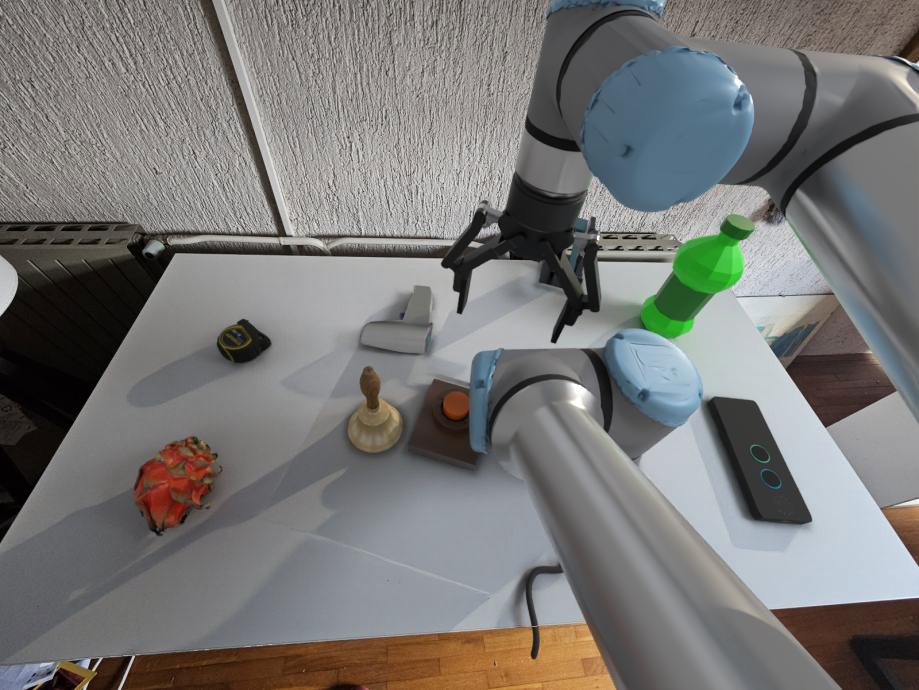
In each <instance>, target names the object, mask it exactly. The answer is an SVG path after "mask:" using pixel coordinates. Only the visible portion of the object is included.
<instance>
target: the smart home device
mask: <svg viewBox="0 0 919 690" xmlns="http://www.w3.org/2000/svg"><path fill="white" fill-rule="evenodd" d="M707 404H708V408H709V410H710V412H711V416H712V418H713V420H714V423H715V425H716V428H717V430H718V433H719V436H720V439H721V440H722V443H723V446H724V448H725V451H726V454H727V456H728V459H729V461H730V463H731V466H732V469H733V472H734V473H735V477H736V479H737V481H738V484H739V486H740V489H741V491H742V494H743V498H744V499H745V501H746V504H747V507H748V509H749V512H750V514H751V516H752V518H753V519H754V520H756V521H760V522H769V523H779V524H780V523H781V524H792V525H806V524H808V523H813V517H812V514H811V512H810V510H809V508H808V505H807V503H806V502H805V499H804V497H803V495H802V493H801V491H800V489H799V486H798V485H797V483H796V480H795V479H794V476H793V474H792V472H791V470H790V468H789V466H788V464H787V462H786V460H785V458H784V456H783V454H782V452H781V450H780V448H779V446H778V443H777V441H776V440H775V437H774V434H773V433H772V431H771V429H770V428H769V425H768V423H767V420H766V419H765V417H764V415H763V413H762V410H761V408H760V406H759V405H758V403H757V402H756V401H755V400H754V399H746V398H745V399H744V398H735V397H726V396H716V395H715V396H713V397H712V398H710V399H709V400H708V401H707Z"/></svg>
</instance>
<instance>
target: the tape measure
mask: <svg viewBox="0 0 919 690" xmlns="http://www.w3.org/2000/svg"><path fill="white" fill-rule="evenodd" d="M271 346H272V340H271V338H270V337H269V336H268V335H266V334H265V333H263V332H262V331H260V330H259V329H258V328H256V326H254V324H252V323H251V322H250V321H249V319H246V318H241V319H239V320H238V321H237V322H236V324H232V325H230V326H227V327H225V328H224V329H223V330H222V331H221V332H220V333H219V335H218V336H217V339H216V347H217V350H218V351H219V353H220V355H221V356H222V358H224V359H225V360H227V361H229V362H233V363H235V364H244V363H245V364H246V363H249V362H251V361H254V360H256V359H257V358H258V357H259V356H261V355H262V353H264V352H265V351H266V350H268V349H270V347H271Z"/></svg>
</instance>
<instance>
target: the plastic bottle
mask: <svg viewBox="0 0 919 690" xmlns="http://www.w3.org/2000/svg"><path fill="white" fill-rule="evenodd" d="M755 230H756V224H755V223H754V222H753V221H752V220H751V219H750V218H748V217H747V216H746V217H745V216H744V215H743V214H742V215H741V214H737V213H731V214H727V215H726V216H725V218H724V219H723V220H722V222H721V223H720V225H719V232H718V233H717V234H709V235H702V236H698V237H695V238H692V239H688V240H686V241H685V242H683V243H682V244H681V245H680V246H679V247H678V249H677V251H676V253H675V255H674V259H673V263H672V271H671V272H670V274H669V275H668V277H666V280H665V281H664V282H663V283H662V285H661V286H660V288H659V289H658V291H657V292H656V294H653V295H651V296H649V297H648V298H646V299H645V300H644V302H643V304H642V307H641V311H640V316H639V317H640V320H641V321H642V323H643V326H644V327H645V330H647V331H651V332H653V333H656V334H658V335H660V336H662V337H664V338H666V339H668V340H669V339H671V340H672V339H676V338H678V337H681V336H683V335H685V334H687V333H690V331H691V330H692V329H693V327H694V324H695V318H696V316H697V315H698V314H699V313H700V312H701V311H702V310H703V309H704V307H705V306H706V305H707V304H708V303H709V302H710V300H711V299H712V298H714V296H715V295H716V294H718V293H721V292H724V291H727V290H729V289H730V288H732V287H734V285H736V284H737V283H738V282H739V281H740V279H741V278H742V276H743V273H744V270H745V269H744V268H745V267H744V266H745V260H744V256H743V254H742V251H741V249H740V246H739V243H740V242H741V241H744V240H747V239H748V238H749V237H750V236H751V235H752V234H753V232H754V231H755Z"/></svg>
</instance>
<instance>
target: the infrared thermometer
mask: <svg viewBox="0 0 919 690" xmlns="http://www.w3.org/2000/svg"><path fill="white" fill-rule="evenodd" d="M407 303H408V304H407V308H406V310H405V312H400V313H399V319H391V320H390V319H389V320H374V321H373V320H372V321H369V322H367V323H366V324H365V325H364V326H363V329H362V330H361V333H360V336H359V342H360V343H361V345H364V346H370V347H374V348H378V349H384V350H388V351H394V352H398V353H407V354H421V355H425V354H426V353H427V351H428V348H429V345H430V342H431V337H432V332H433V327H434V322H432V320H433V315H432V312H433V311H432V310H433V291H432V288H431V287H430V286H427V285H418V284H417V285H416V284H415V285H413V293H412V295H411V297H410V299H409V301H408V302H407Z"/></svg>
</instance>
